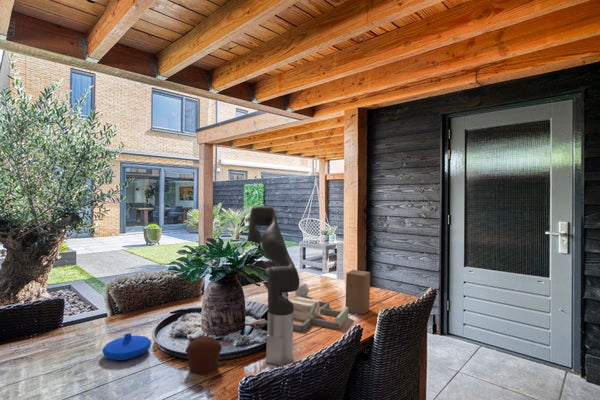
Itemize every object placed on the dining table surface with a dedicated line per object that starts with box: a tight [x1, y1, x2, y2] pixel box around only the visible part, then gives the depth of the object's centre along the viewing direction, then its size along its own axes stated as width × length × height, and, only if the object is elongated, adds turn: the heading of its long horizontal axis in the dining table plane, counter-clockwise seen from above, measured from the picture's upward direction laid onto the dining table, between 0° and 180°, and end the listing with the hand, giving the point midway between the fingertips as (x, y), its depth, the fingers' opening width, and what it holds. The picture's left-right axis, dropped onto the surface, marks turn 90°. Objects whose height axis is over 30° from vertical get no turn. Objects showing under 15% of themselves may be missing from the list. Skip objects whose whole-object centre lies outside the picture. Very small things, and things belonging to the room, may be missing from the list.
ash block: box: [289, 296, 320, 322], centre depth 163 cm, size 10×12×8 cm
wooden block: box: [344, 269, 371, 315], centre depth 173 cm, size 10×10×20 cm
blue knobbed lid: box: [102, 333, 152, 361], centre depth 120 cm, size 16×16×7 cm
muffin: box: [185, 335, 223, 376], centre depth 112 cm, size 12×11×10 cm
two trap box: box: [293, 300, 349, 333], centre depth 161 cm, size 36×26×5 cm
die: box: [294, 282, 310, 298], centre depth 194 cm, size 8×9×10 cm
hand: (289, 306), depth 166 cm, fingers closed
